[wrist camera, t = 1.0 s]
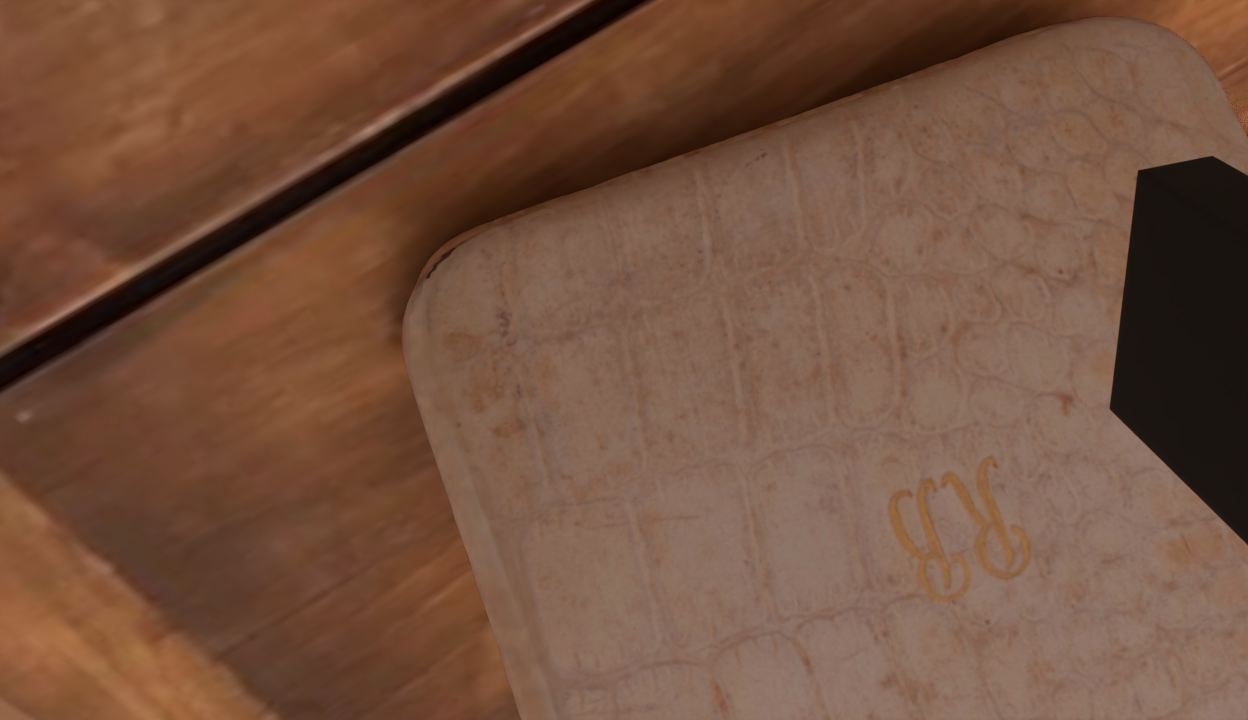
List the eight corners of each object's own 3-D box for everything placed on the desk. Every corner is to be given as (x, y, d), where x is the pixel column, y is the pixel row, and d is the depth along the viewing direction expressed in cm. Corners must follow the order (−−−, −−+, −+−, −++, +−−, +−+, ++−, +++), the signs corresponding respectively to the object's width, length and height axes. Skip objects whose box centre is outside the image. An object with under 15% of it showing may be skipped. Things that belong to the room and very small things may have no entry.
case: (1127, -39, 30) (1774, 196, 16) (1148, 550, 41) (1540, 986, 27) (367, 219, 29) (365, 686, 16) (598, 743, 40) (715, 1283, 27)
